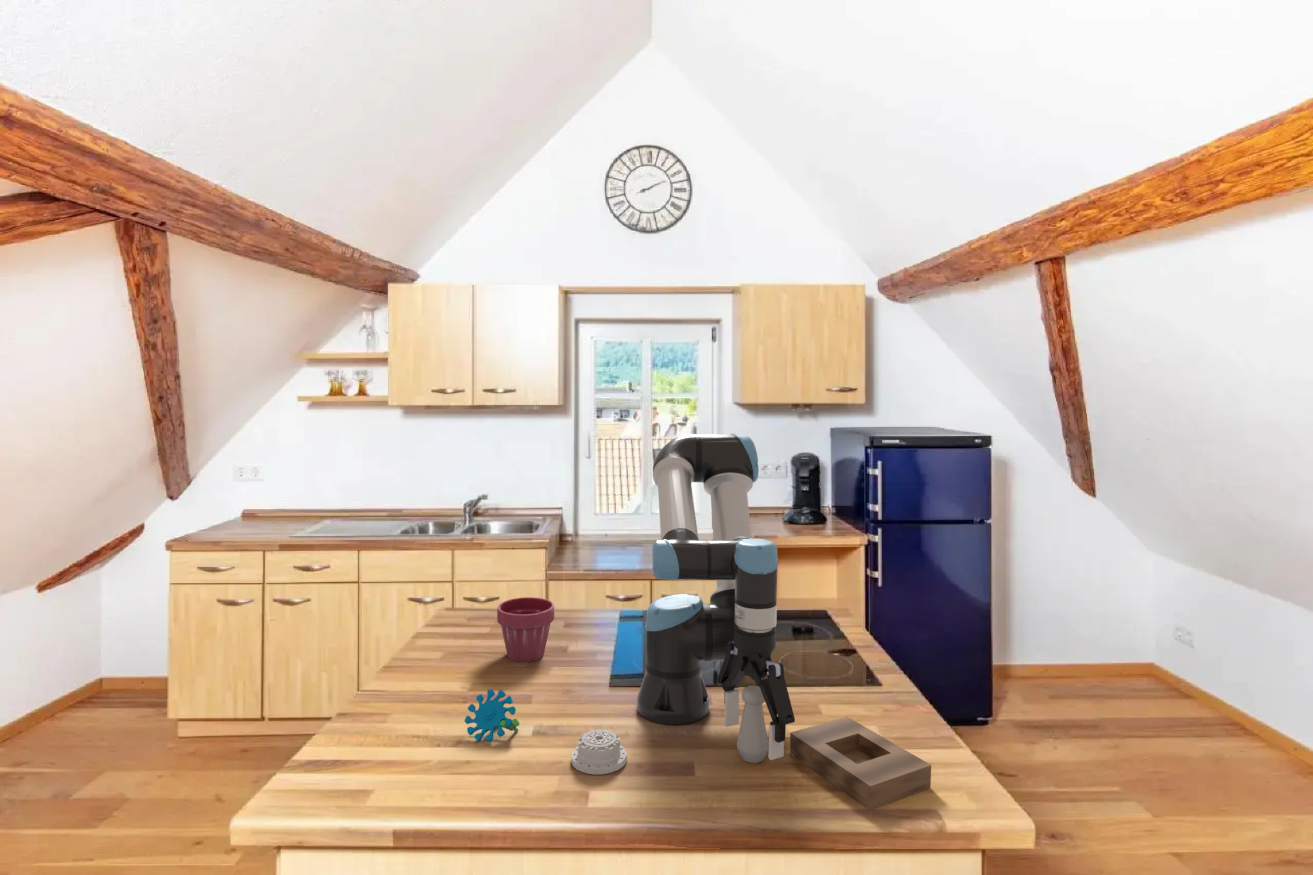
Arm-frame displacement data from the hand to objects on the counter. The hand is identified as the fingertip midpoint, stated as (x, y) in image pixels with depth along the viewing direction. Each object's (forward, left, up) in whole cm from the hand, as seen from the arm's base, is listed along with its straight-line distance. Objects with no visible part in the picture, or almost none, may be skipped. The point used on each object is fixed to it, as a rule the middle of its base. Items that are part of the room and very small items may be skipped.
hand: (752, 740), depth 129 cm
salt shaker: (0, 0, -3) cm, 3 cm away
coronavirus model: (-30, -40, -4) cm, 50 cm away
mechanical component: (-12, -25, -4) cm, 28 cm away
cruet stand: (+12, +14, -3) cm, 19 cm away
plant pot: (-67, -21, -3) cm, 70 cm away
